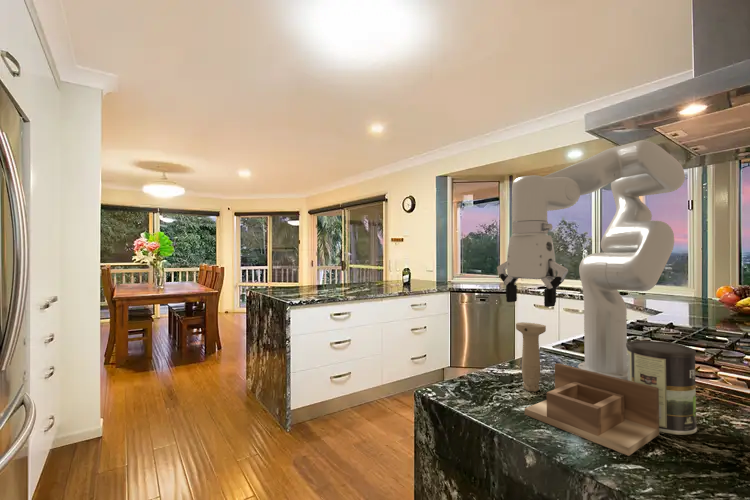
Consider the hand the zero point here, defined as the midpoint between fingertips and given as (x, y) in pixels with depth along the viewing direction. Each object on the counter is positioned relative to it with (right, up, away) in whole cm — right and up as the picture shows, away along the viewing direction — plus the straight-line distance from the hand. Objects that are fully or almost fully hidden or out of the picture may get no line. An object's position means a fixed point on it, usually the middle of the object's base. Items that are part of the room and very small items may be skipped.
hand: (529, 303), depth 85 cm
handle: (0, -20, 0) cm, 20 cm away
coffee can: (+17, -20, -17) cm, 31 cm away
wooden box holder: (+3, -20, -17) cm, 26 cm away
